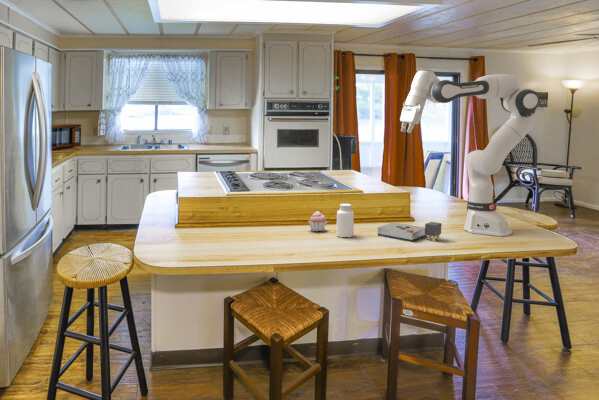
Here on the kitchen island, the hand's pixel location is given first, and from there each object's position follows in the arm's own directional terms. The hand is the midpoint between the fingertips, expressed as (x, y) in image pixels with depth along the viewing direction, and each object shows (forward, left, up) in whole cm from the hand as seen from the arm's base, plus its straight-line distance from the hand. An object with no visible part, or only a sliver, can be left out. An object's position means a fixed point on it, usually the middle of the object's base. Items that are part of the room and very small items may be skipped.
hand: (405, 132), depth 230 cm
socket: (-5, +9, -48) cm, 49 cm away
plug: (-19, +6, -48) cm, 52 cm away
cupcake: (+31, +28, -48) cm, 64 cm away
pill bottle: (+15, +27, -48) cm, 57 cm away
